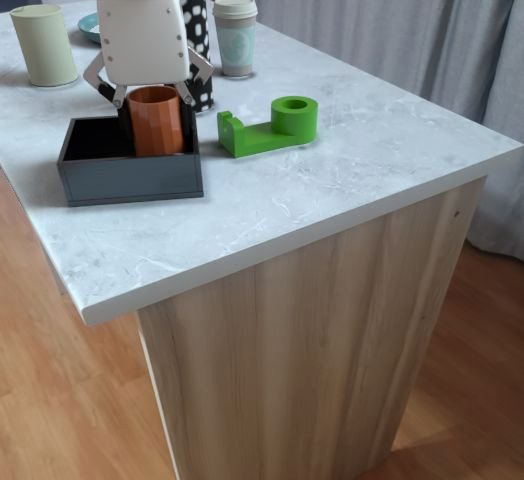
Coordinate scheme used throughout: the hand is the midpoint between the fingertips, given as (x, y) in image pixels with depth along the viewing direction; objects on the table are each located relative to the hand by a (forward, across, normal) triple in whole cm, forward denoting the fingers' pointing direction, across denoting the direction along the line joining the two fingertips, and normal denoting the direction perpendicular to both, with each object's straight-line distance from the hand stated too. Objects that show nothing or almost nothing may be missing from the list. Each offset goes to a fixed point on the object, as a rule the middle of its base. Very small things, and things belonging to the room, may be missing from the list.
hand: (158, 132), depth 69 cm
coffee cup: (+6, -14, -41) cm, 44 cm away
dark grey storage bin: (+6, +4, +1) cm, 7 cm away
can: (+6, +22, -43) cm, 48 cm away
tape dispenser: (+6, -16, -8) cm, 19 cm away
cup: (+4, 0, 0) cm, 4 cm away
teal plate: (+6, +8, -72) cm, 73 cm away
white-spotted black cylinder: (+6, -4, -25) cm, 26 cm away
